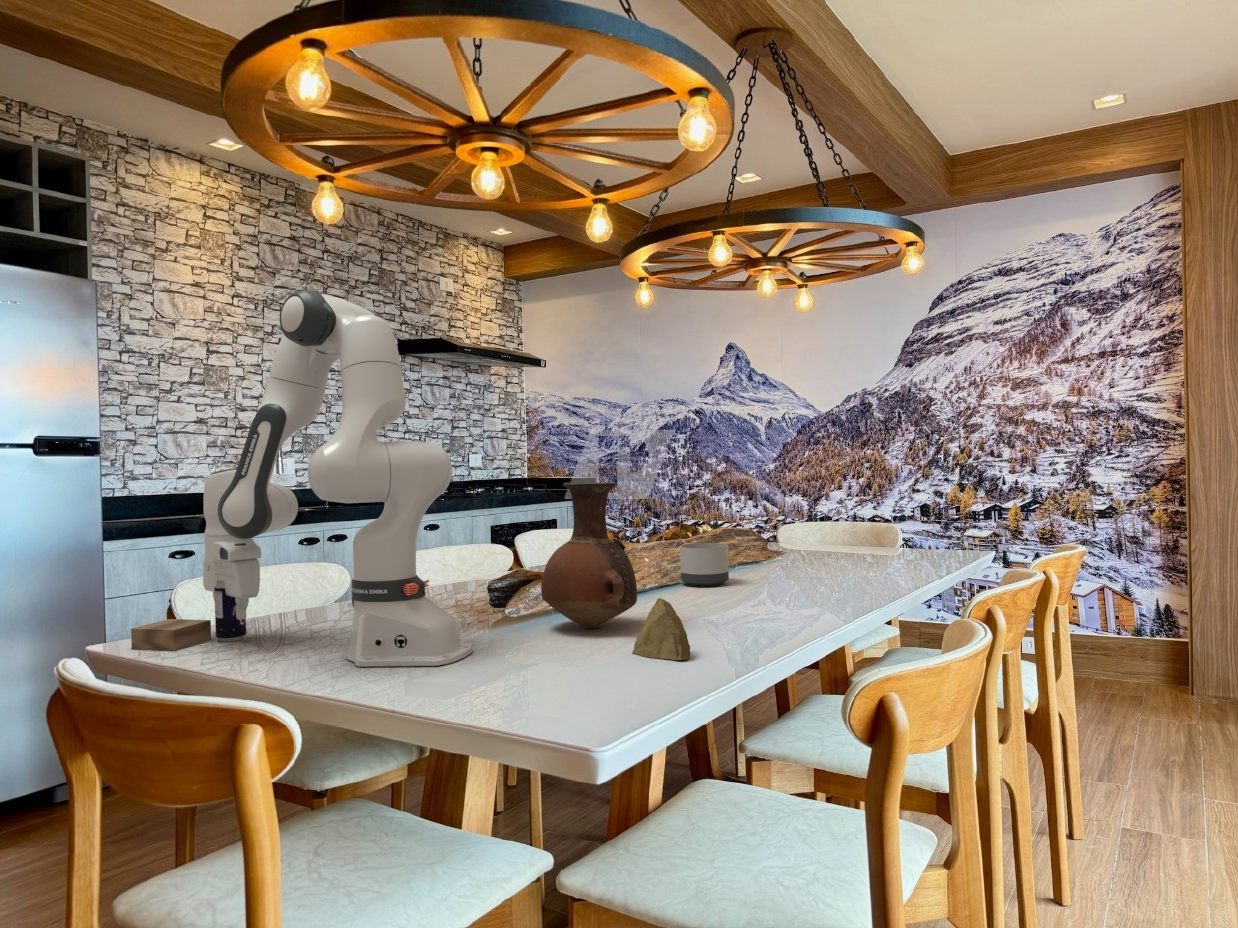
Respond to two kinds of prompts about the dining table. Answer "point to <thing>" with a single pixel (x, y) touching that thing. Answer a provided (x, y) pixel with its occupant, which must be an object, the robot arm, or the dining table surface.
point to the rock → (662, 634)
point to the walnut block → (171, 634)
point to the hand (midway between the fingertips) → (231, 616)
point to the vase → (589, 564)
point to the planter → (704, 564)
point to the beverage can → (227, 616)
